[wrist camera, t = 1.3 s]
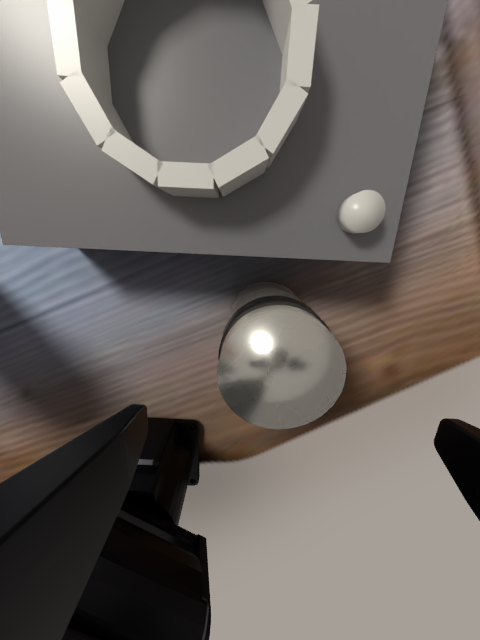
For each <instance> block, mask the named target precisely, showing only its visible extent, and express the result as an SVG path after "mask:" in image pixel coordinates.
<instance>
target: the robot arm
mask: <svg viewBox="0 0 480 640" xmlns="http://www.w3.org/2000/svg"><path fill="white" fill-rule="evenodd" d="M190 426H194V428H192V427H190ZM434 446H435V448H436V450H437V452H438V454H439V456H440V457H441V459H442V461H443V462H444V464H445V466H446V467H447V469H448V471H449V473H450V474H451V476H452V478H453V479H454V481H455V483H456V484H457V486H458V488H459V490H460V491H461V493H462V495H463V496H464V498H465V500H466V501H467V503H468V504H469V506H470V507H471V509H472V510H473V512H474V513H475V515H476V516H477V518H478V519H479V521H480V429H479V428H477V427H475V426H472V425H470V424H468V423H466V422H463V421H461V420H459V419H443V420H441V421H440V424H439V427H438V430H437V433H436V436H435V439H434ZM198 481H199V423H198V422H197V421H195V420H183V419H163V418H148V417H147V408H146V406H145V405H141V404H132V405H130V406H128V407H126V408H125V409H123V410H121V411H120V412H118V413H116V414H115V415H113V416H111V417H110V418H108V419H106V420H105V421H103V422H101V423H100V424H98V425H96V426H95V427H93V428H91V429H90V430H88V431H86V432H85V433H83V434H81V435H80V436H78V437H77V438H75V439H73V440H72V441H70V442H68V443H67V444H65V445H63V446H62V447H60V448H58V449H57V450H55V451H53V452H52V453H50V454H48V455H47V456H45V457H43V458H42V459H40V460H38V461H37V462H35V463H33V464H32V465H30V466H28V467H27V468H25V469H23V470H22V471H20V472H18V473H17V474H15V475H13V476H12V477H10V478H8V479H7V480H5V481H3V482H2V483H0V640H209V636H210V625H211V606H210V592H209V577H208V562H207V561H208V560H207V547H206V546H207V545H206V538H205V537H203V536H201V535H199V534H198V535H195V534H193V533H191V532H189V531H187V530H185V529H183V528H181V527H179V526H178V523H179V519H180V515H181V511H182V506H183V502H184V497H185V493H186V489H187V485H197V484H198Z"/></svg>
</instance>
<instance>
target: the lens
mask: <svg viewBox="0 0 480 640" xmlns="http://www.w3.org/2000/svg"><path fill="white" fill-rule="evenodd" d="M217 379H218V385H219V389H220V392H221V394H222V396H223V398H224V400H225V402H226V403H227V405H228V406H229V407H230V408H231V409H232V410H233V411H234V412H235V413H236V414H237V415H238V416H239V417H241V418H242V419H244V420H246V421H247V422H250V423H252V424H254V425H257V426H260V427H264V428H270V429H289V428H295V427H299V426H302V425H305V424H308V423H310V422H312V421H314V420H316V419H317V418H319V417H321V416H322V415H323V414H324V413H326V412H327V411H328V410H329V409H330V408H331V407H332V406H333V405H334V403H335V402H336V401H337V399H338V397H339V396H340V394H341V392H342V390H343V387H344V384H345V380H346V360H345V356H344V353H343V350H342V348H341V346H340V344H339V342H338V341H337V340H336V338H335V337H334V336H333V335H332V334H331V332H330V330H329V328H328V327H327V325H326V324H325V323H324V322H323V321H322V320H321V318H320V317H319V316H318V315H317V314H316V313H315V312H314V311H313V310H312V309H311V308H309V307H308V306H307V305H306V304H304V303H303V302H302V301H301V300H300V299H299V298H298V297H297V296H296V295H295V294H294V293H293V292H292V291H291V290H290V289H289V288H287V287H285V286H284V285H281V284H278V283H274V282H260V283H256V284H253V285H251V286H249V287H247V288H245V289H244V290H243V291H241V292H240V293H239V294H238V296H237V297H236V298H235V300H234V302H233V304H232V306H231V309H230V314H229V318H228V323H227V325H226V327H225V329H224V332H223V336H222V340H221V344H220V348H219V363H218V370H217Z"/></svg>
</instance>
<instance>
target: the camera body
mask: <svg viewBox="0 0 480 640" xmlns="http://www.w3.org/2000/svg"><path fill="white" fill-rule="evenodd" d="M447 1H448V0H0V233H1V238H2V242H3V245H21V246H43V247H64V248H85V249H106V250H127V251H149V252H170V253H191V254H212V255H234V256H255V257H276V258H297V259H318V260H340V261H361V262H382V263H390V261H391V256H392V252H393V247H394V243H395V238H396V234H397V229H398V225H399V220H400V215H401V211H402V206H403V202H404V197H405V193H406V188H407V184H408V179H409V174H410V170H411V165H412V161H413V156H414V152H415V147H416V143H417V138H418V133H419V129H420V124H421V120H422V115H423V111H424V106H425V102H426V97H427V92H428V88H429V83H430V79H431V74H432V70H433V65H434V61H435V56H436V51H437V47H438V42H439V38H440V33H441V29H442V24H443V20H444V15H445V10H446V6H447Z"/></svg>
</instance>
